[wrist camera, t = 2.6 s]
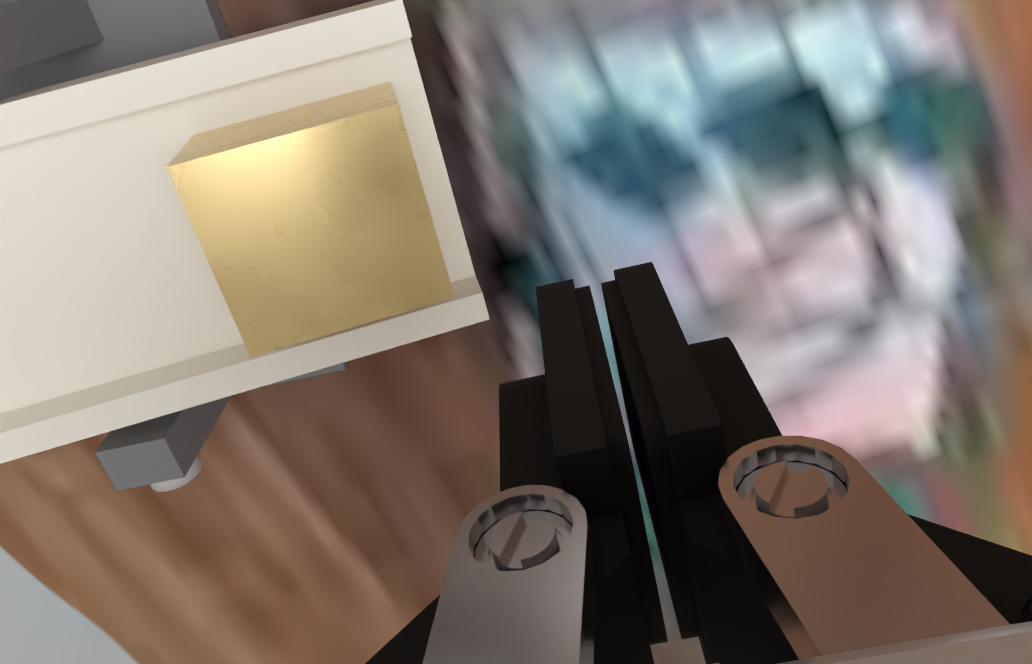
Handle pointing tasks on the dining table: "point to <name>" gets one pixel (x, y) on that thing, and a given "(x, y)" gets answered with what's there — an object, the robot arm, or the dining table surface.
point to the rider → (313, 218)
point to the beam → (176, 229)
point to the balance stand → (83, 52)
